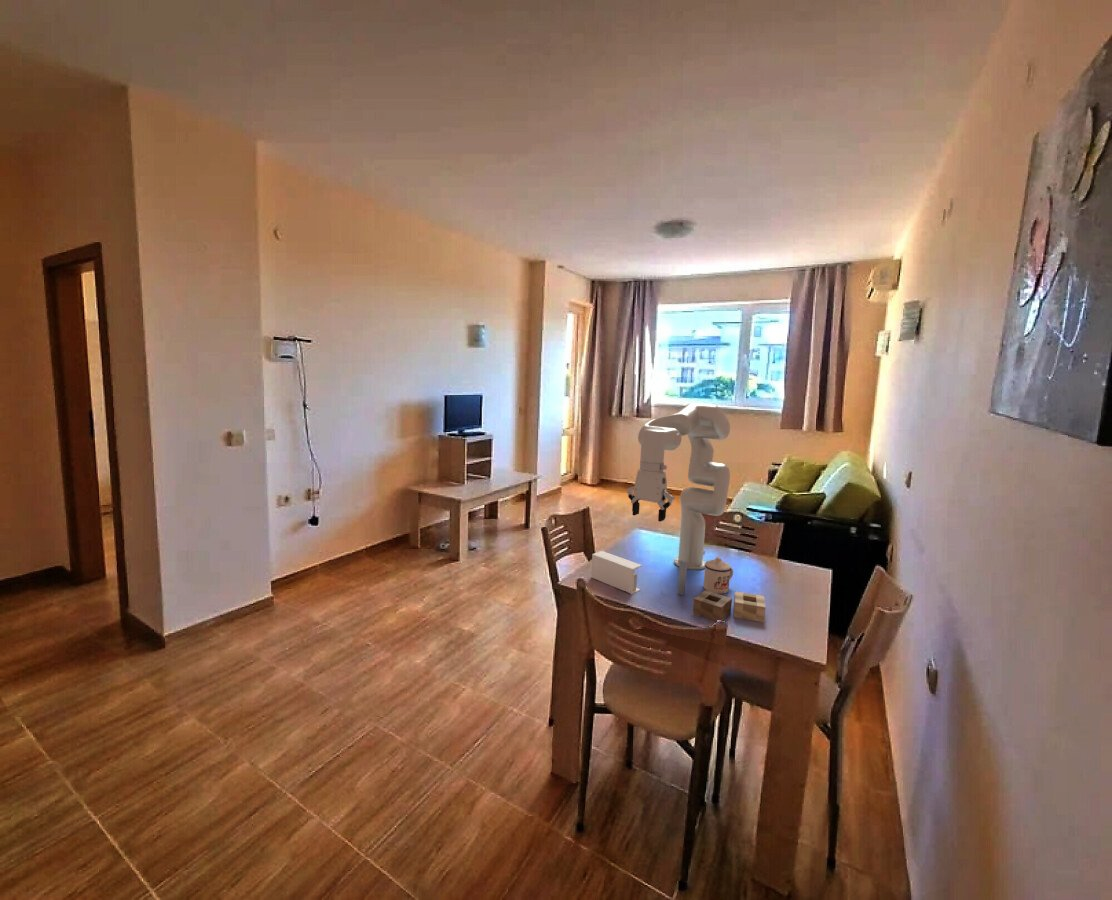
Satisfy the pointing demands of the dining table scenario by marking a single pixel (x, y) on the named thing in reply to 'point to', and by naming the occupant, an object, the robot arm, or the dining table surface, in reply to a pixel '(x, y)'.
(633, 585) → the white channel beam
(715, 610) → the brown square-hole block
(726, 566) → the teacup with lid
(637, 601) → the dining table surface
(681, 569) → the needle dowel
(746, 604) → the checkered wooden socket block
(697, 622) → the dining table surface
